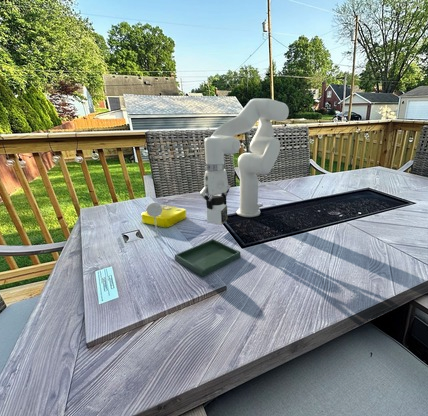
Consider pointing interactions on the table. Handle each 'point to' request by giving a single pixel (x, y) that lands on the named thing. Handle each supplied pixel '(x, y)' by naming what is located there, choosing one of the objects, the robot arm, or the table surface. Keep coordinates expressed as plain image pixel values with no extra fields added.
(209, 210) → the medicine bottle
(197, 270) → the tray
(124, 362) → the table surface
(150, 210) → the lollipop
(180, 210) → the yellow flat block
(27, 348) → the table surface
